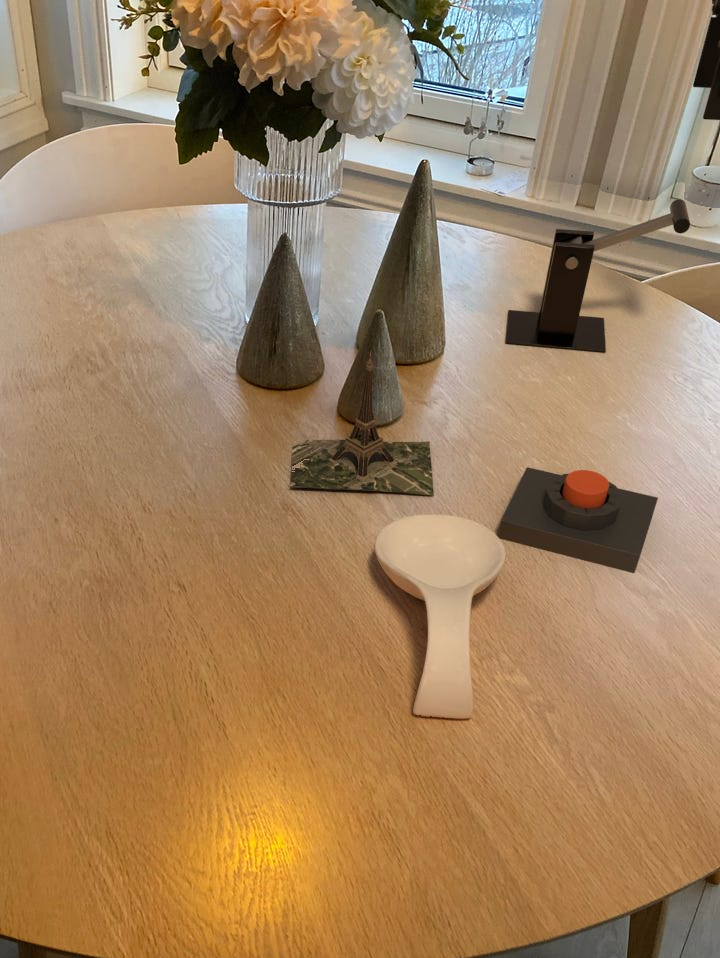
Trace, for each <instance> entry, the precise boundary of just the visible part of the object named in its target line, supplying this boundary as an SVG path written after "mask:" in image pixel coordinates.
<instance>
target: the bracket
mask: <svg viewBox="0 0 720 958" xmlns="http://www.w3.org/2000/svg"><path fill="white" fill-rule="evenodd" d="M580 236H581V237H582V241H583V243H586V242H589V241H592V240H594V236H595V232H594V230H593V231H592V230H577V229H564V228H562V229H561V228H555V231H554V237H553V242H552V247H551V250H550V251H551V252H550V255H549V256H550V257H549V262H548V267H547V272H546V277H545V281H544V287H543V292H542V297H541V302H540V308H539V311H526V310H514V309H508V310H507V319H506V327H505V328H506V329H505V341H504V345H508V346H509V345H510V346H520V347H521V346H522V347H530V348H531V347H532V348H543V349H555V350H564V351H577V352H589V353H599V354H606V353H607V352H606V351H607V348H606V346H607V345H606V329H605V318H604V317H599V316H587V315H580V314H581V309H582V305H583V302H584V296H585V291H586V288H587V283H588V278H589V274H590V269H591V266H592V260H593V257H594V252H595V251H594V245H590V244H576V243H563V242H566V241H569V240H572V239H575V238H578V237H580Z"/></svg>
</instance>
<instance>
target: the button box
mask: <svg viewBox="0 0 720 958" xmlns="http://www.w3.org/2000/svg"><path fill="white" fill-rule="evenodd" d="M568 474H569V473H562V474H558V473H554V472H549V471H545V470H541V469H537V468H532V467H528V466H527V467H526V468H525V469H524V472H523V474H522V476H521V478H520V479H519V482H518V484H517V487H516V488H515V490H514V493H513V495H512V497H511V499H510V501H509V503H508V504H507V507H506V509H505V511H504V513H503V515H502V517H501V519H500V522H499V528H498V531H497V536H498V538H499V539H500V540H503V541H507V542H511V543H515V544H519V545H523V546H527V547H531V548H535V549H538V550H541V551H546V552H549V553H554V554H557V555H562V556H565V557H569V558H573V559H577V560H581V561H585V562H589V563H593V564H596V565H601V566H604V567H606V568H607V567H608V568H612V569H615V570H619V571H623V572H628V573H631V574H636V570H637V567H638V564H639V561H640V558H641V556H642V552H643V549H644V545H645V542H646V538H647V535H648V532H649V529H650V526H651V523H652V520H653V516H654V513H655V509H656V506H657V503H658V499H659V497H657V496H653V495H648V494H645V493H640V492H636V491H631V490H628V489H622V488H619V487H618V486H617V485H615V484H614V483H612V482H611V481H609V480H608V482H609V489H608V492H607V496H606V499H605V502H604V503H603V505H601V506H600V507H596V508H584V507H580V506H575V505H572V504H570V503H569V502H567V501H566V500H565V499H564V498H563V495H562V492H563V488H564V484H565V480H566V477H567V476H568Z"/></svg>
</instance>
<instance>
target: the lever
mask: <svg viewBox="0 0 720 958" xmlns="http://www.w3.org/2000/svg"><path fill="white" fill-rule="evenodd" d="M669 211H670V213H667V214H664V215H661V216H657V217H655V218H652V219H650V220H647V221H644V222H642V223H637V224H635V225H632V226H629V227H626V228H623V229H620V230H618V231H615V232H612V233H609V234H606V235H603V236H600V237H598V238H595V239H594V238H593V240H592V241H589V242H586V243H583V241H582V237H581V236H580V237H578V238H575V239H572V240H569V241H566V242H563V243H576V244H590V245H594V252H597V251H600V250H603V249H606V248H608V247H611V246H615V245H617V244H621V243H623V242H626V241H630V240H632V239H635V238H638V237H641V236H643V235H646V234H650V233H652V232H653V233H654V232H655V231H660V230H661V229H664V228H667V227H671V226H672V227H673V230H674V231H675V233H676V234H684V233H686V232H688V230H689V229H690V227H691V221H690V217H689V212H688V209H687V203H686V201H685V200H684V199H681V198H678V199H674V200H673V201H672V202H671V203H670V206H669Z"/></svg>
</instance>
